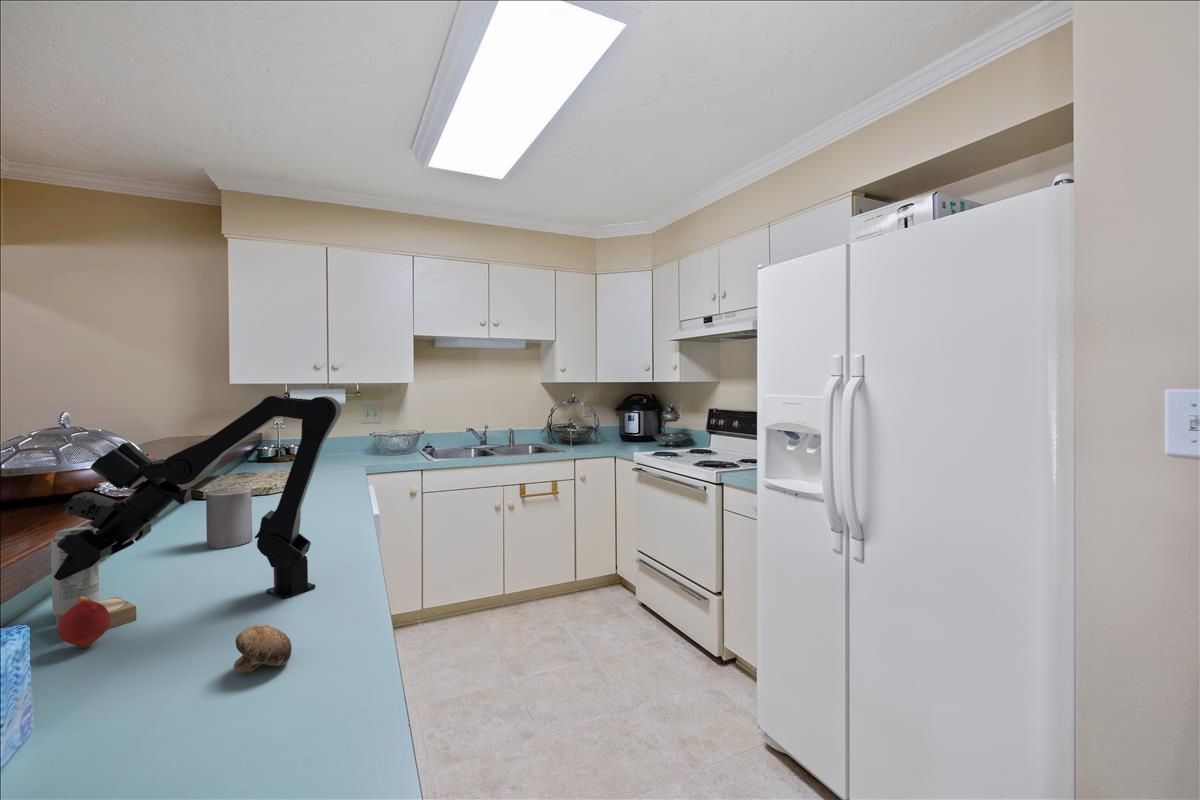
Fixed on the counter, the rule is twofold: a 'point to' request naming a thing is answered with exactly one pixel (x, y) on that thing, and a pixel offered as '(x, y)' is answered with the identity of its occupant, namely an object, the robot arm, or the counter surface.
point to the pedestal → (112, 611)
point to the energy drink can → (72, 578)
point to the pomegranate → (84, 623)
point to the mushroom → (261, 648)
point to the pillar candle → (228, 517)
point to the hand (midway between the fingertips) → (68, 572)
